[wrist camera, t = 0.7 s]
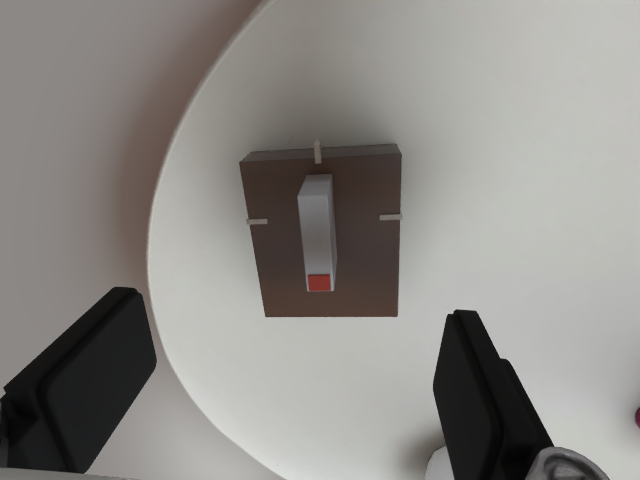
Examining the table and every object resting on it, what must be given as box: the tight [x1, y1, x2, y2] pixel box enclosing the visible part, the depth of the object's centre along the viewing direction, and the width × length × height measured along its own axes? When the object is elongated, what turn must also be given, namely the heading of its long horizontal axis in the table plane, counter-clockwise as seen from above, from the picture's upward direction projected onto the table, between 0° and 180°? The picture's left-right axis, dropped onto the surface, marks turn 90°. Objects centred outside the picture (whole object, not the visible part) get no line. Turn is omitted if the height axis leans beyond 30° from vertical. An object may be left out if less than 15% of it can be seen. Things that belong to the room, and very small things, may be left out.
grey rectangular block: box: [297, 174, 337, 291], centre depth 22 cm, size 6×2×4 cm, turn 4°
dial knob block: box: [239, 140, 402, 317], centre depth 26 cm, size 13×10×3 cm
